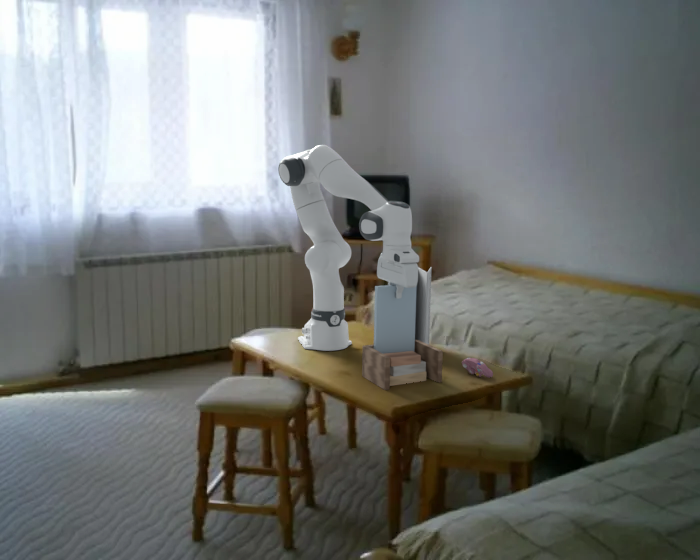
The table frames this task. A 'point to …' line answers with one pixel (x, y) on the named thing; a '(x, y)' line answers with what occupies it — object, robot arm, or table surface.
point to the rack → (379, 364)
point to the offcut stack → (406, 368)
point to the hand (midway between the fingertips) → (395, 297)
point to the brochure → (423, 306)
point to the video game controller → (476, 367)
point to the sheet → (394, 319)
